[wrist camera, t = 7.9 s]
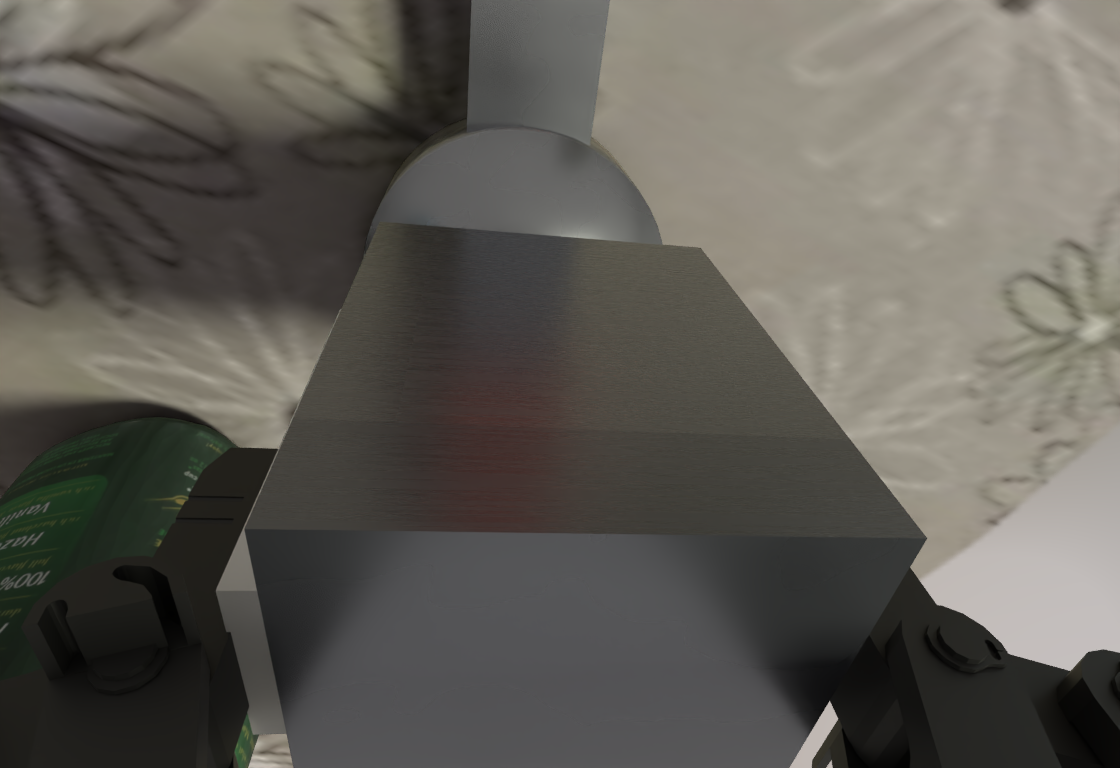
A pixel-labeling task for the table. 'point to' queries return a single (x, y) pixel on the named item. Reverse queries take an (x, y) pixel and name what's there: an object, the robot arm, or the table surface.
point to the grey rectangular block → (562, 518)
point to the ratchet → (524, 136)
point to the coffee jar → (95, 517)
